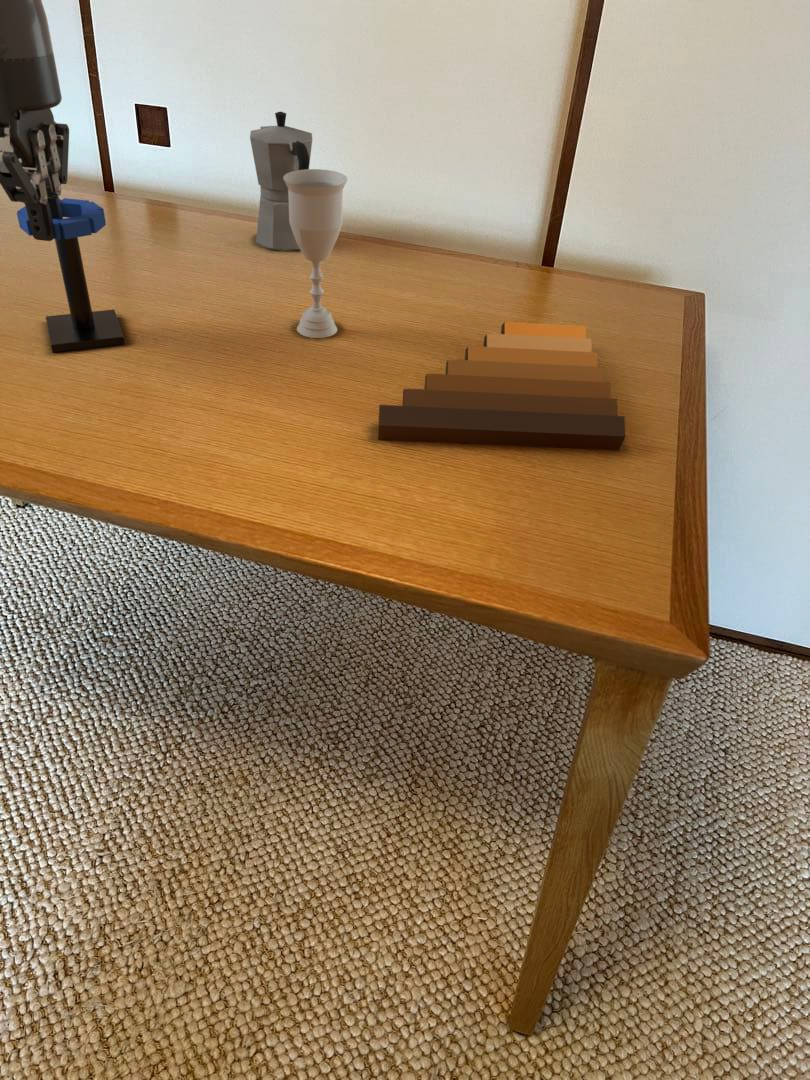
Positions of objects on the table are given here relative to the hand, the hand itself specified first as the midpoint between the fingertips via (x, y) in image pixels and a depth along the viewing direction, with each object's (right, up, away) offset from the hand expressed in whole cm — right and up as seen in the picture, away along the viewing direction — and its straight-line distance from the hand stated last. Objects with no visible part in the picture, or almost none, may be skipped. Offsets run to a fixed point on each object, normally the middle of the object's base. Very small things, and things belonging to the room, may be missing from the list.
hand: (49, 235), depth 86 cm
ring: (0, +2, +3) cm, 3 cm away
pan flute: (+47, -15, +6) cm, 50 cm away
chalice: (+27, -6, +16) cm, 32 cm away
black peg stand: (0, -8, +11) cm, 13 cm away
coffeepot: (+20, +13, +38) cm, 45 cm away
